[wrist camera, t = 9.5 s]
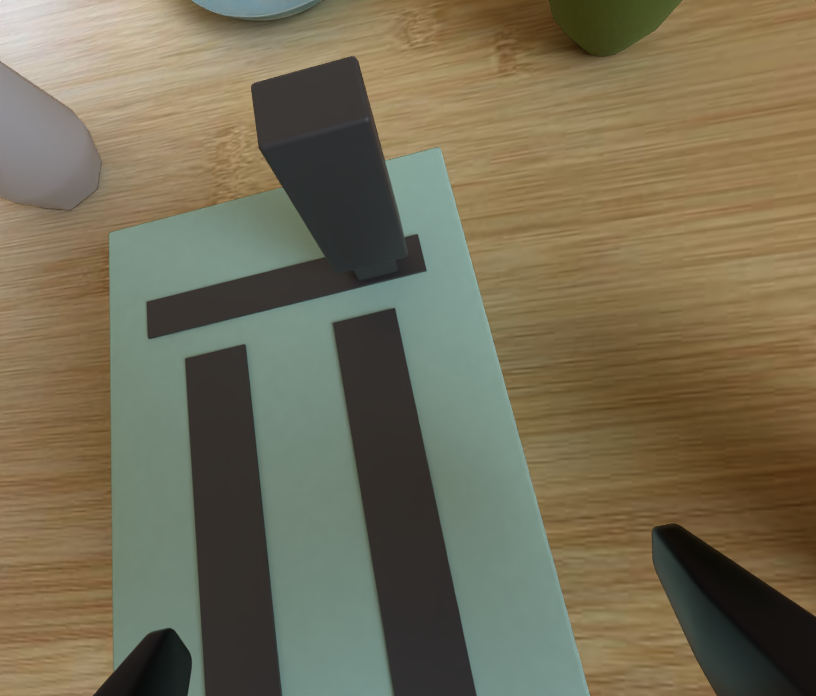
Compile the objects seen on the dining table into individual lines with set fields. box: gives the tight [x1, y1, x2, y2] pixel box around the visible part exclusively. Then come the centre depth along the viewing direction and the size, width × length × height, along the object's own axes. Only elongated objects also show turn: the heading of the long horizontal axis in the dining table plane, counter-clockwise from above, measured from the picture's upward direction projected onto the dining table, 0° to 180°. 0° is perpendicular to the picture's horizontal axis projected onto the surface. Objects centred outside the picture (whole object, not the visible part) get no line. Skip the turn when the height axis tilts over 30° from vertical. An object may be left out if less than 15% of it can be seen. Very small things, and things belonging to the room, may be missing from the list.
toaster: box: [109, 147, 590, 696], centre depth 17 cm, size 16×11×9 cm
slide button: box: [251, 56, 408, 281], centre depth 12 cm, size 2×2×6 cm
